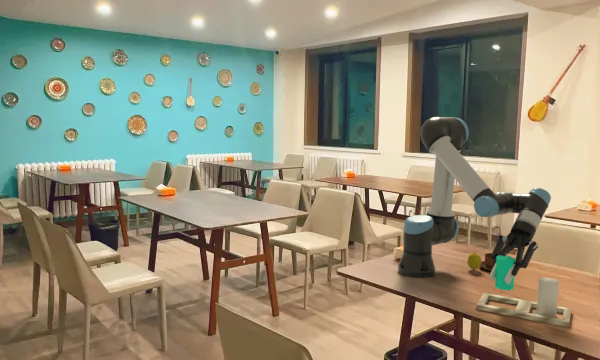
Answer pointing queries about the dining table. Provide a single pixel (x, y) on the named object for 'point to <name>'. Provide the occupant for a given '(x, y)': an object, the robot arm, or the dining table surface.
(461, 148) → the robot arm
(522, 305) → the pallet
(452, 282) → the dining table surface
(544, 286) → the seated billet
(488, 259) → the cup and saucer
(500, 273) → the candle
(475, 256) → the lemon
